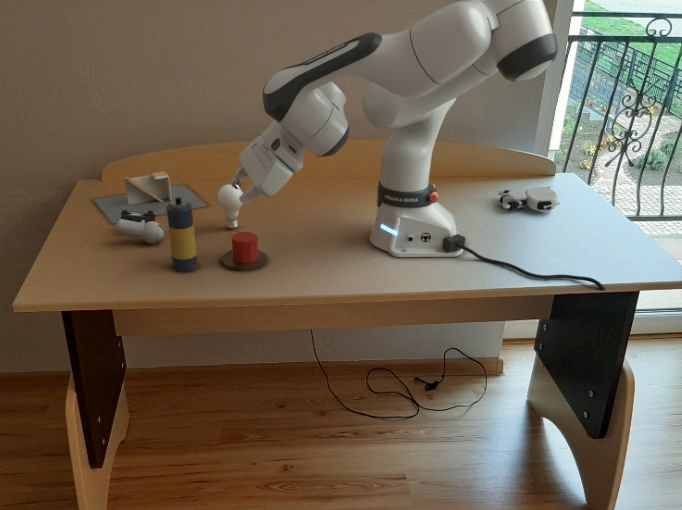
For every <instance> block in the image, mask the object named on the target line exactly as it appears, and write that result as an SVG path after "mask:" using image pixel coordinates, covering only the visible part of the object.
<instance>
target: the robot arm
mask: <svg viewBox="0 0 682 510" xmlns="http://www.w3.org/2000/svg"><path fill="white" fill-rule="evenodd" d="M558 45H559V44H558V39H557V35H556V33H555V32H554V31H553V29H552V23H551V21H550V17H549V14H548V10H547V8H546V5H545V3H544V0H457V1H456V2H453V3H451V4H448V5H446V6H444V7H442V8H439V9H437V10H436V11H435V12H433V13H430V14H428V15H427V16H425V17H423V18H422V19H420V20H418V21H417V22H416V23H415V24H413V25H411V26H410V27H408V28H406V29H405V30H402V31H397V32H395V33H389V34H379V33H376V32H373V31H369V32H366V33H363V34H360V35H358V36H355V37H353V38H351V39H349V40H346V41H344V42H342V43H340V44H338V45H335V46H334V47H332V48H329V49H328V50H326V51H324V52H322V53H320V54H317V55H315V56H313V57H311V58H309V59H306V60H305V61H303V62H301V63H297V64H294V65H290V66H286V67H284V68H282V69H280V70H279V71H276V73H274V74H272V76H271V77H270V78H269V79H268V80H267V81H266V83H265V84H264V86H263V88H262V104H263V110H264V112H265V114H267V116H269V117H270V118H272V119H273V121H272V122H271V123H270V124H269V125H268V126H267V127H266V129H265V130H263V132H262V133H261V134H260V135H258V136H256V138H254V139H253V140H252V141H251V142H250V143H249V144H248V145H247V146H246V147H245V148H244V149H243V151H241V152H240V153H239V156H238V161H239V163H240V166H239V167H238V169H237V172H236V173H235V175H234V177H233V178H232V179H231V181H230V183H229V184H231V185H232V187H234V188H235V189H238V188H240V187H241V186H242V185H243V182H244V180H245V179H246V178H247V177H248V178H249V179H250V181H251V182H252V185H251V186H250V188H249V189H248V190H247V191H245V192H243V194H242V195H241V196H240V197H239V200H240V201H241V203H243V204H242V205H243V206H248V205H249V204H250V203H251V201H253V200H255V199H257V198H259V197H260V196H261V195H263V196H264V197H265V198H267V199H270V198H271V197H274V196H275V195H276V194H277V193H278V192H279V191H280V190H281V189H282V188H283V187H284V186H285V185H286V184H287V183H288V182H289V180H290V179H292V177H293V175H294V174H298V173H299V172H300V171H301V170H302V169H303V167H304V159H303V158H304V153H305V152H306V151H307V150H308V151H309V152H311V154H313V155H315V156H316V157H319V158H327V157H331V156H333V155H335V154H337V153H338V152H339V151H340V150H341V149H342V147H344V145H345V144H346V143H347V141H348V139H349V136H350V135H349V134H350V122H349V121H348V120H347V117H346V114H345V111H344V107H345V105H346V103H347V97H346V95H345V93H344V91H343V90H342V89H341V87H340V86H339V85H337V83H336V82H334V81H336V80H339V79H341V78H344V77H347V76H348V77H349V76H352V77H353V76H355V77H359V78H362V79H365V80H367V81H370V83H369V84H368V85H367V86H366V87H365V89H364V91H363V94H362V103H361V104H362V110H363V113H364V116H365V117H366V119H367V121H368V122H369V123H370V124H371V125H372V126H374V127H375V128H378V129H388V130H389V129H392V130H393V131H392V133H391V135H390V136H389V138H388V139H386V140H387V141H385V143H384V145H383V148H382V151H381V161H380V162H381V163H380V179H379V180H378V184H377V188H376V189H377V190H376V206H377V209H376V215H375V219H374V224H373V227H372V231H371V233H370V235H369V241H370V242H371V244H372V245H373V246H375V247H376V248H378V249H381V250H383V251H386V252H388V253H389V254H390V256H393V257H395V258H427V257H428V258H430V257H431V258H445V257H446V258H447V257H448V258H450V257H455V258H456V257H458V256H460V255H461V254H463V252H464V251H465V252H467V253H469V254H471V255H473V256H474V257H475V258H477V259H479V260H481V261H483V262H486V263H491V264H495V265H500V266H503V267H507V268H510V269H512V270H515V271H517V272H518V273H520V274H523V275H525V276H526V277H530V278H534V279H541V280H552V279H554V280H555V279H568V280H576V281H585V282H589V283H592V284H594V285H596V286H597V287H598V288H599V289H600V290H601V291H603V292H606V288H605V286H604V285H603V284H602V283H601V282H600V281H598V280H597V279H595V278H592V277H590V276H589V277H588V276H581V275H573V274H572V275H571V274H545V275H544V274H537V273H532V272H530V271H527V270H525V269H523V268H521V267H519V266H516V265H515V264H512V263H510V262H505V261H502V260H496V259H493V258H492V259H491V258H488V257H485V256H484V255H483V256H482V255H480V254H479V253H478V252H476V250H475V251H474V250H473V249H471V248H469V247H467V246H465V244H466V243H465V242H466V237H465V236H463V234H462V233H461V232H460V231H459V230H457V224H456V220H455V217H454V215H453V213H451V212H450V211H449V210H448V209H447V208H446V207H444V206H443V205H442V204H441V203H439V193H438V189H437V187H436V185H435V184H434V183H433V185H432V184H431V183H429V182H430V173H431V164H432V159H433V158H432V156H433V153H434V148H435V144H436V141H437V138H438V135H439V133H440V130H441V127H442V125H443V123H444V120H445V117H446V116H447V114H448V112H449V110H450V109H451V108H452V107H453V105H454V104H455V102H456V101H457V98H458V97H460V96H463V95H465V94H466V93H467V92H470V90H472V89H473V88H475V87H477V86H478V85H480V84H481V83H483V82H485V81H487V79H489V78H491V77H492V76H494V75H495V74H497V73H498V72H499V73H500V75H501V76H502V77H503V78H504V79H505V80H507V81H509V82H513V83H515V82H523V81H528V80H531V79H533V78H536V77H538V76H539V75H541V74H542V73H543V72H545V71H546V70H547V69H548V67H550V65H551V64H552V63H554V62H555V60H556V57H557V55H558V53H559V46H558ZM585 383H586V384H585V388H584V394H588V393H589V391H590V390H589V389H590V386H591V381H587V382H585Z"/></svg>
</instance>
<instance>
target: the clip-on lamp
mask: <svg viewBox="0 0 682 510" xmlns="http://www.w3.org/2000/svg"><path fill="white" fill-rule="evenodd" d="M115 230H116V232H117V233H118V234H120V235H125V236H130V237H133V238H138V239H142V240H143V241H144V242H146V243H147V244H150V245H155V244H157V242H159V241H161V240H163V238H164V235H165V233H164V232H166V233H168V234H169V229H166V228H165V227H164V226H163V224H161V223H159V222H156V216H155V214H153V211H150V210H149V211H148V214H147V213H141V212H134V211H128V210H123V211H122V212H121V219H120V220H119V221H118V222H117V223H115Z"/></svg>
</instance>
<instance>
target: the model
mask: <svg viewBox="0 0 682 510" xmlns="http://www.w3.org/2000/svg"><path fill="white" fill-rule="evenodd" d="M124 178H125V179H124V183H125V191H126V198H127V204H128V205H133V204H139V203H145V202H151V201H156V200H157V201H159V202H160V203H163V202H164V200H163V199H168V200H169V201H171V200H173V196H172V187H173V186H171V179H170V175H168V173H167V172H166V171H163V170H162V171H158V172H151V174H148V175H142V176H136V177H128V176H127V175H124Z"/></svg>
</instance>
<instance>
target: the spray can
mask: <svg viewBox="0 0 682 510" xmlns="http://www.w3.org/2000/svg"><path fill="white" fill-rule="evenodd" d="M166 209H167V214H166V216H167V227H168V231H169V233H168V234H169V236H168V237H169V244H170V252H171V253H170V254H171V259H172V267H173V268H172V269H173V270H174V271H176V272H179V273H189V272H194V271H195V270H196V269H197V268H198V257H197V246H196V233H195V223H194V215H193V209H192V205H191V204H190V203H188V201H187V200H186V199H181V198H180V197H176V198H175V199H173V200H171V201H170V202H169V204H168V205H167V206H166Z"/></svg>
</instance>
